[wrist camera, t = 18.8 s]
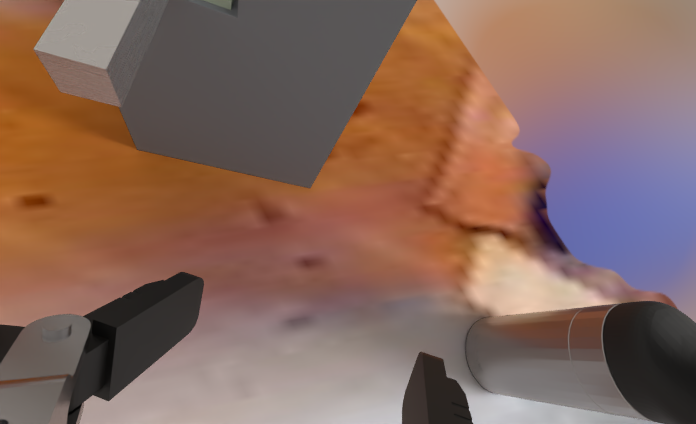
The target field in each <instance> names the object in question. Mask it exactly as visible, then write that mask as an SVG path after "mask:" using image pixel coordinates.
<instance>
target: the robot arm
mask: <svg viewBox="0 0 696 424" xmlns="http://www.w3.org/2000/svg"><path fill="white" fill-rule="evenodd" d="M203 286H204V281H203V279H202V278H200V277H197V276H194V275H191V274H188V273H185V272H180V273H178V274H176V275H174V276H172V277H171V278H169V279H167V280H165V281H164V280H161V281H157V282H152V283H148V284H145V285H143V286H141V287H140V288H138V289H136V290H134V291H133V292H130V293H128V294H126V295H124V296H123V297H122V298H118V299H116V300H114V301H112V302H110V303H108V304H106V305H104V306H102V307H101V308H99V309H97V310H95V311H93V312H91V313H89V314H87V315H85V316H83V317H82V316H79V315H72V314H63V315H54V316H49V317H45V318H42V319H39V320H37V321H34V322H32V323H31V324H29V325H27V326H26V327H20V326H10V325H0V424H79V423H80V420H81V416H82V413H83V408H84V401H86V400H87V399H88V398H90V397H91V396H92V395H94V396H97V397H99V398H102V399H104V400H107V401H110V400H111V399H112V398H113V397H114V396H115V395H117V394H118V393H119V392H120V391H121V390H123V389H124V388H125V387H126V386H127V385H128V384H130V383H131V382H132V381H133V380H134V379H136V378H137V377H138V376H139V375H140V374H141V373H143V372H144V371H145V370H146V369H147V368H149V367H150V366H151V365H152V364H153V363H155V362H156V361H157V360H158V359H159V358H160V357H162V356H163V355H164V354H165V353H166V352H168V351H169V350H170V349H171V348H172V347H173V346H175V345H176V344H177V343H178V342H179V341H181V340H182V339H183V338H184V337H185V336H186V335H188V334H189V333H190V332H191V330H192V329H193V327H194V326H195V324H196V322H197V319H198V315H199V309H200V304H201V298H202V292H203ZM466 356H467V361H468V364H469V367H470V370H471V372H472V374H473V376H474V377H475V379H476V380H477V381H478V383H479V384H480V385H481V386H482V387H483V388H485V389H486V390H488V391H490V392H492V393H495V394H500V395H505V396H511V397H516V398H521V399H527V400H533V401H538V402H544V403H550V404H555V405H561V406H567V407H573V408H578V409H584V410H590V411H595V412H601V413H607V414H612V415H618V416H625V417H631V418H636V419H642V420H648V421H653V422H658V423H663V424H696V323H695V322H694V321H692V320H691V319H690V318H689V317H688V316H686V315H685V314H684V313H682V312H681V311H679V310H677V309H676V308H674V307H672V306H670V305H667V304H664V303H661V302H655V301H639V302H630V303H622V304H611V305H601V306H592V307H584V308H574V309H565V310H555V311H545V312H536V313H526V314H516V315H506V316H496V317H488V318H482V319H480V320H478V321H477V322H476V323H475V324H473V326H472V327H471V329H470V331H469V333H468V336H467V341H466ZM402 424H473V423H472V418H471V414H470V411H469V406H468V402H467V398H466V394H465V393H464V391H463V390H462V388H461V387H460V385H459V384H458V383H457V381H456V380H454V379H451V378H448V377H447V376H446V371H445V366H444V361H443V359H441V358H438V357H435V356H432V355H429V354H426V353H423V352H420V353H419V355H418V357H417V360H416V363H415V365H414V368H413V371H412V374H411V377H410V380H409V383H408V385H407V388H406V391H405V395H404V400H403V407H402Z"/></svg>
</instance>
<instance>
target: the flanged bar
mask: <svg viewBox="0 0 696 424" xmlns="http://www.w3.org/2000/svg"><path fill="white" fill-rule="evenodd" d="M168 1H169V0H64V2H63V3H62V5H61V7H60V8H59V10H58V11H57V13H56V14H55V16H54V18H53V19H52V21H51V22H50V24H49V25H48V27H47V29H46V30H45V32H44V33H43V35H42V36H41V38H40V40H39V41H38V43H37V44H36V46H35V47H34V51H35V52H36V54H37V56H38V57H39V59H40V60H41V62H42V64H43V65H44V67H45V68H46V70H47V71H48V73H49V75H50V76H51V78H52V79H53V81H54V82H55V84H56V86H57V87H58V89H59V90H60V92H63V93H67V94H71V95H75V96H79V97H83V98H87V99H91V100H95V101H99V102H103V103H107V104H111V105H115V106H119V107H122V106H123V104H124V101H125V99H126V97H127V94H128V92H129V90H130V88H131V85H132V83H133V81H134V79H135V76H136V74H137V72H138V69H139V67H140V65H141V63H142V60H143V58H144V56H145V54H146V51H147V49H148V47H149V44H150V42H151V40H152V38H153V35H154V33H155V31H156V29H157V26H158V24H159V22H160V19H161V17H162V15H163V13H164V10H165V8H166V6H167V4H168Z"/></svg>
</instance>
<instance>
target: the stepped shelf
mask: <svg viewBox="0 0 696 424" xmlns="http://www.w3.org/2000/svg"><path fill="white" fill-rule="evenodd" d="M416 1H417V0H169V1H168V4H167V6H166V8H165V10H164V13H163V15H162V17H161V19H160V22H159V24H158V26H157V29H156V31H155V33H154V35H153V38H152V40H151V42H150V44H149V47H148V49H147V51H146V54H145V56H144V58H143V60H142V63H141V65H140V67H139V69H138V72H137V74H136V76H135V79H134V81H133V83H132V85H131V88H130V90H129V92H128V94H127V97H126V99H125V101H124V104H123V106H122V107H119V109H120V111H121V113H122V116H123V118H124V120H125V123H126V125H127V127H128V130H129V132H130V134H131V137H132V139H133V141H134V144H135V146H136V148H137V150H141V151H146V152H150V153H155V154H159V155H164V156H168V157H173V158H177V159H182V160H186V161H190V162H195V163H199V164H204V165H208V166H213V167H217V168H222V169H226V170H231V171H235V172H240V173H244V174H249V175H253V176H258V177H262V178H266V179H271V180H275V181H280V182H284V183H289V184H293V185H298V186H302V187H307V188H311V186H312V184H313V183H314V181H315V179H316V177H317V175H318V174H319V172H320V170H321V168H322V167H323V165H324V163H325V161H326V160H327V158H328V156H329V154H330V153H331V151H332V149H333V147H334V146H335V144H336V142H337V140H338V138H339V137H340V135H341V133H342V131H343V130H344V128H345V126H346V124H347V123H348V121H349V119H350V117H351V116H352V114H353V112H354V110H355V109H356V107H357V105H358V103H359V101H360V100H361V98H362V96H363V94H364V93H365V91H366V89H367V87H368V86H369V84H370V82H371V80H372V79H373V77H374V75H375V73H376V72H377V70H378V68H379V66H380V64H381V63H382V61H383V59H384V57H385V56H386V54H387V52H388V50H389V49H390V47H391V45H392V43H393V42H394V40H395V38H396V36H397V35H398V33H399V31H400V29H401V27H402V26H403V24H404V22H405V20H406V19H407V17H408V15H409V13H410V12H411V10H412V8H413V6H414V5H415V3H416Z"/></svg>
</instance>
